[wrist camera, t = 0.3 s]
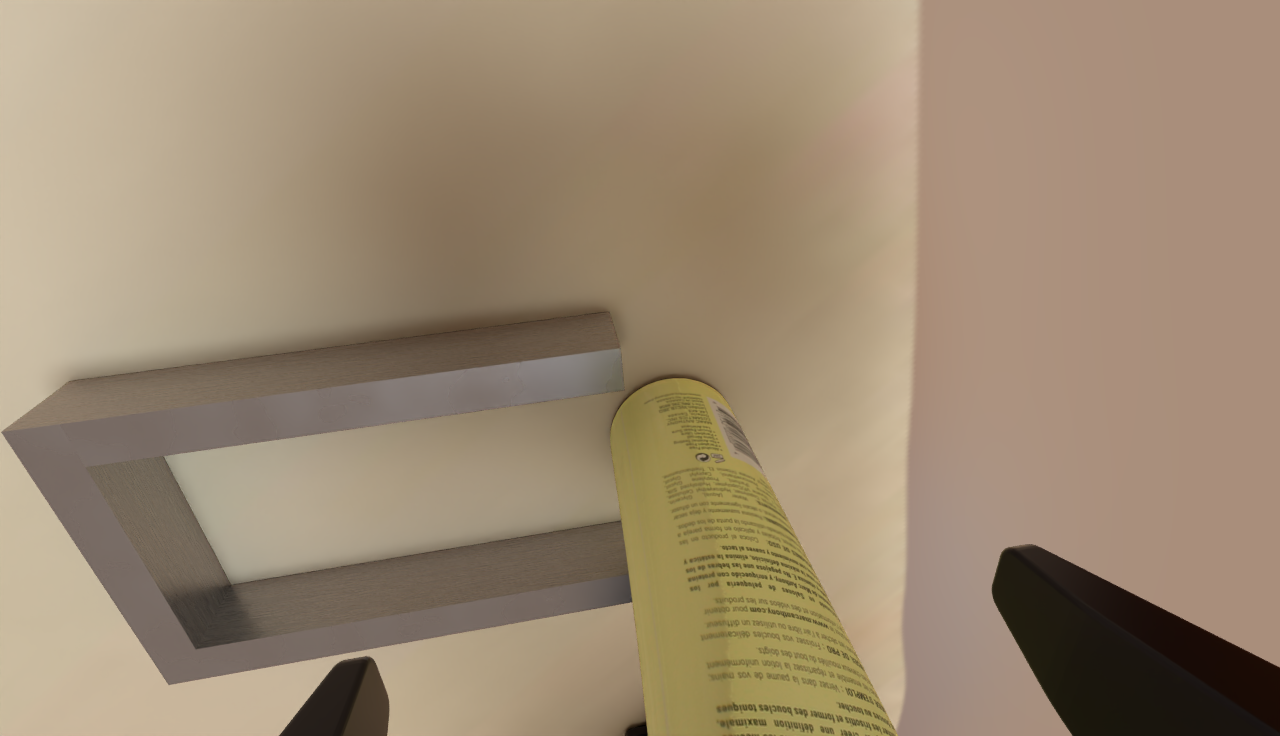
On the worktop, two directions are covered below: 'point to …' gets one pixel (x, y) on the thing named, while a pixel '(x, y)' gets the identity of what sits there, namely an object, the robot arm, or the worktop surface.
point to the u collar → (299, 406)
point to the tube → (725, 583)
